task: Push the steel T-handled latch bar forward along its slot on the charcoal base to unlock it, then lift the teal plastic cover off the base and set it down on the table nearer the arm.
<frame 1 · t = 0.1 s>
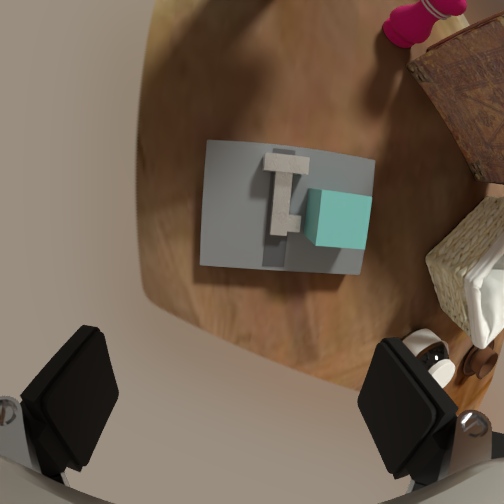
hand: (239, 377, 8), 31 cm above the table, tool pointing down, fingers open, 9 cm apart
spread jar: (417, 345, 46), on the table
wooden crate: (455, 112, 34), on the table
latch: (282, 195, 32), point 6 cm above the table, slide at 0.0 cm
base: (285, 206, 38), on the table
storage basket: (467, 252, 41), on the table
cover: (328, 213, 34), point 4 cm above the table, touching base
pepper mill: (397, 34, 30), on the table
cup and saucer: (475, 353, 49), on the table
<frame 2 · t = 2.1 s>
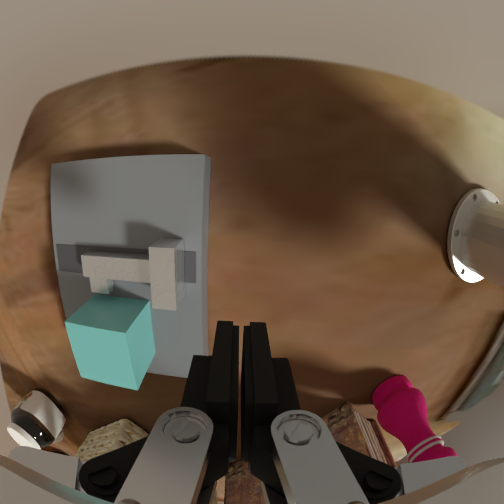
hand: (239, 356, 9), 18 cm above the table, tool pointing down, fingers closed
spread jar: (52, 408, 35), on the table
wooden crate: (298, 448, 36), on the table
latch: (126, 270, 21), point 6 cm above the table, slide at 0.0 cm
base: (134, 265, 27), on the table
storage basket: (151, 456, 37), on the table
cover: (125, 324, 25), point 4 cm above the table, touching base
pepper mill: (389, 389, 33), on the table
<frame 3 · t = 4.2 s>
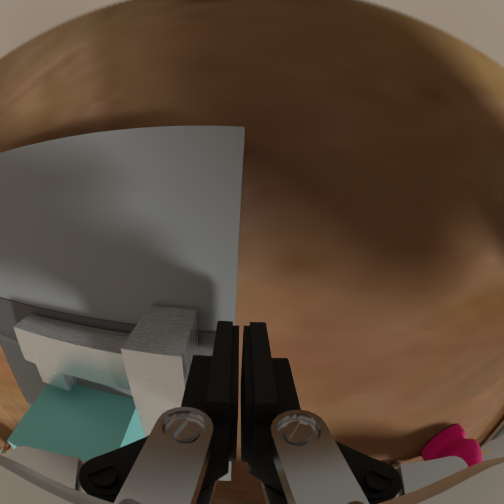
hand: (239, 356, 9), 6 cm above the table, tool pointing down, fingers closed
latch: (89, 366, 10), point 6 cm above the table, slide at 0.0 cm, touching gripper
base: (110, 326, 15), on the table
cover: (105, 421, 13), point 4 cm above the table, touching base
pepper mill: (440, 439, 22), on the table
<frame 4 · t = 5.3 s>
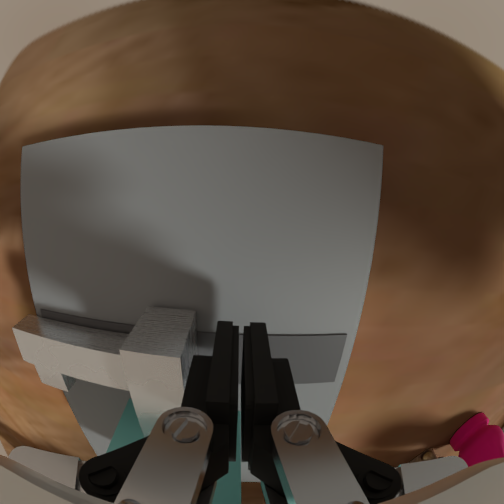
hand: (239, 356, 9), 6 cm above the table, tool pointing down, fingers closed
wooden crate: (364, 496, 25), on the table
latch: (87, 366, 9), point 6 cm above the table, slide at 5.5 cm, touching gripper
base: (191, 336, 16), on the table
cover: (187, 438, 13), point 4 cm above the table, touching base
pepper mill: (466, 427, 22), on the table
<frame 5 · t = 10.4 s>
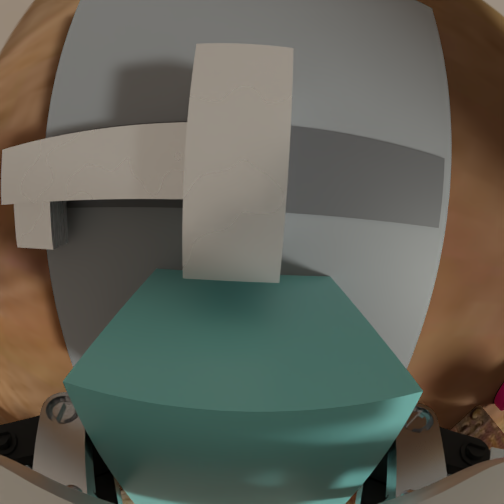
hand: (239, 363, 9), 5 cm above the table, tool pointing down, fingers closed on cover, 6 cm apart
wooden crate: (405, 473, 22), on the table
latch: (101, 165, 6), point 6 cm above the table, slide at 5.8 cm
base: (245, 203, 13), on the table
cover: (240, 347, 10), point 4 cm above the table, touching base, gripper
when the fingers open (2 cm above the table, at t = 17.7 s): cover drops 2 cm, on the table.
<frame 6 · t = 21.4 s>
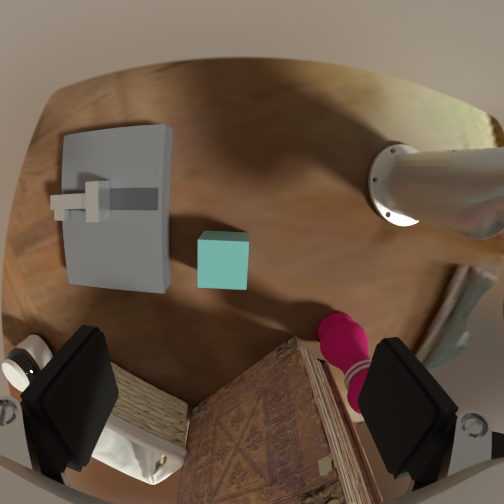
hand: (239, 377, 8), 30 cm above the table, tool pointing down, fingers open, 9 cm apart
spread jar: (44, 354, 43), on the table
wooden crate: (256, 388, 45), on the table
latch: (75, 201, 30), point 6 cm above the table, slide at 5.8 cm
base: (118, 207, 36), on the table
storage basket: (129, 395, 46), on the table
cover: (225, 252, 39), on the table
pepper mill: (334, 328, 43), on the table
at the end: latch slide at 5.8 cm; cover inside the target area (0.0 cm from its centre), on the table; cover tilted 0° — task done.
